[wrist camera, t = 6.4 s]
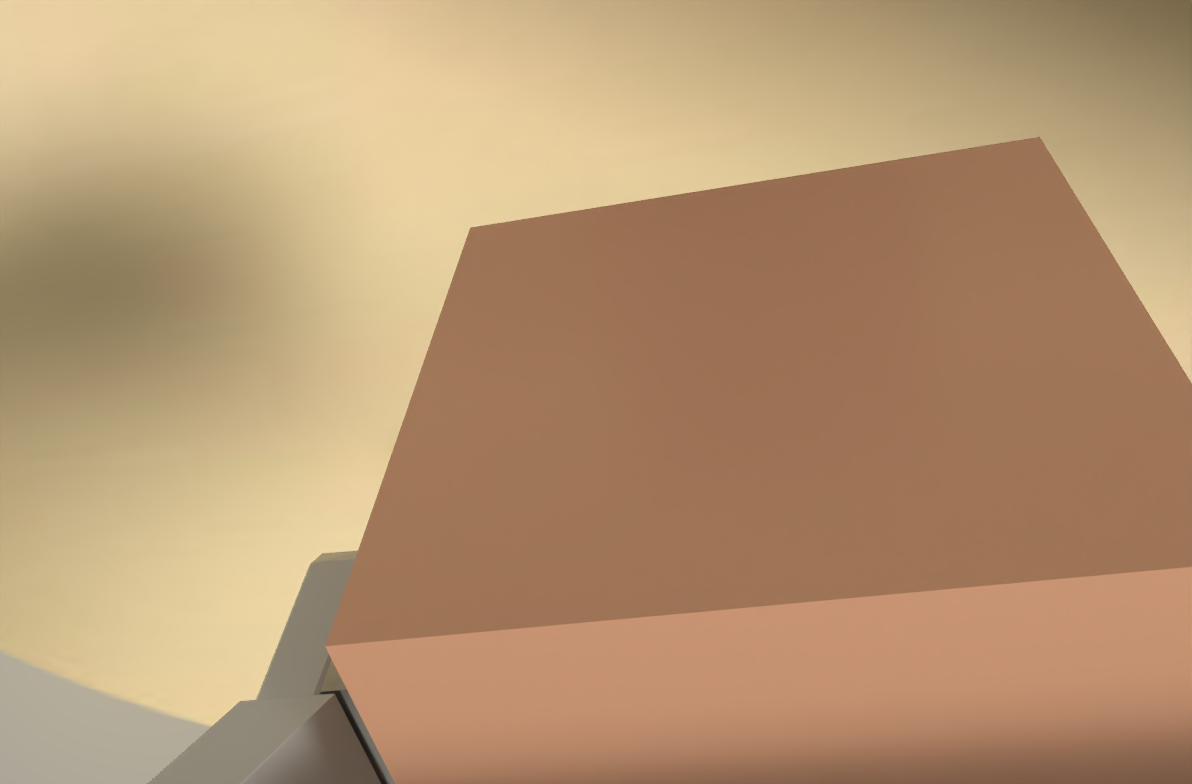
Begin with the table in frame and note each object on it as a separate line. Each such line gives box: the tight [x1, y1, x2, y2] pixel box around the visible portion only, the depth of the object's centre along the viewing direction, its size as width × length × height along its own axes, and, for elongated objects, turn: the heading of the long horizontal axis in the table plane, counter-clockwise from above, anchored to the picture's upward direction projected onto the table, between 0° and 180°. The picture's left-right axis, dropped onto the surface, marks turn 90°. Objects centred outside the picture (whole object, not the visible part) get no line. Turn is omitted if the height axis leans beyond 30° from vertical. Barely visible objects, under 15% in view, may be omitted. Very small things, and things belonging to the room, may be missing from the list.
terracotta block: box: [325, 137, 1192, 784], centre depth 9 cm, size 5×5×5 cm
